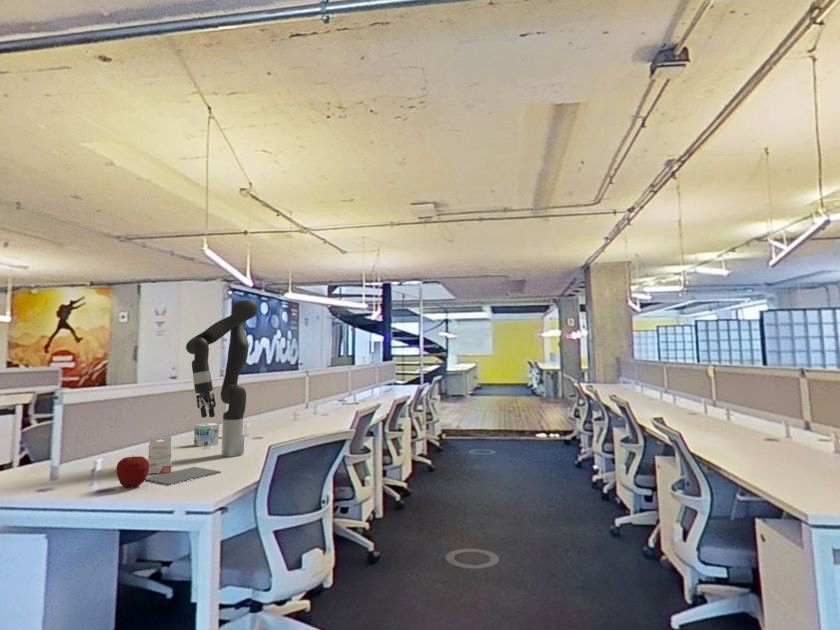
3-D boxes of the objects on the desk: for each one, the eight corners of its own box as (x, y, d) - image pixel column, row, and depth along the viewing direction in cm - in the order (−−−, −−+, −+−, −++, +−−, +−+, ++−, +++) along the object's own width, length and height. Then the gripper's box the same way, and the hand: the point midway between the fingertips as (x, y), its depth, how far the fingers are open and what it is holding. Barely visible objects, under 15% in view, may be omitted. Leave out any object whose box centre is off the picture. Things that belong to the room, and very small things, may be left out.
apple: (126, 492, 188) (127, 459, 189) (108, 488, 193) (110, 455, 194) (154, 485, 198) (156, 453, 199) (137, 481, 203) (138, 450, 204)
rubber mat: (194, 468, 227) (194, 466, 227) (220, 472, 219) (220, 471, 219) (141, 480, 206) (141, 478, 206) (169, 485, 198) (169, 484, 198)
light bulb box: (199, 447, 274) (199, 425, 275) (193, 445, 279) (194, 424, 280) (218, 444, 282) (219, 424, 283) (212, 442, 287) (213, 422, 288)
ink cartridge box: (171, 470, 223) (172, 434, 224) (170, 472, 218) (172, 436, 219) (148, 471, 220) (150, 435, 221) (147, 474, 215) (149, 437, 216)
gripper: (217, 379, 238) (223, 415, 238) (204, 381, 248) (209, 415, 248) (200, 382, 233) (206, 419, 233) (188, 384, 243) (193, 419, 243)
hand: (208, 417), depth 240 cm, fingers open, 8 cm apart
